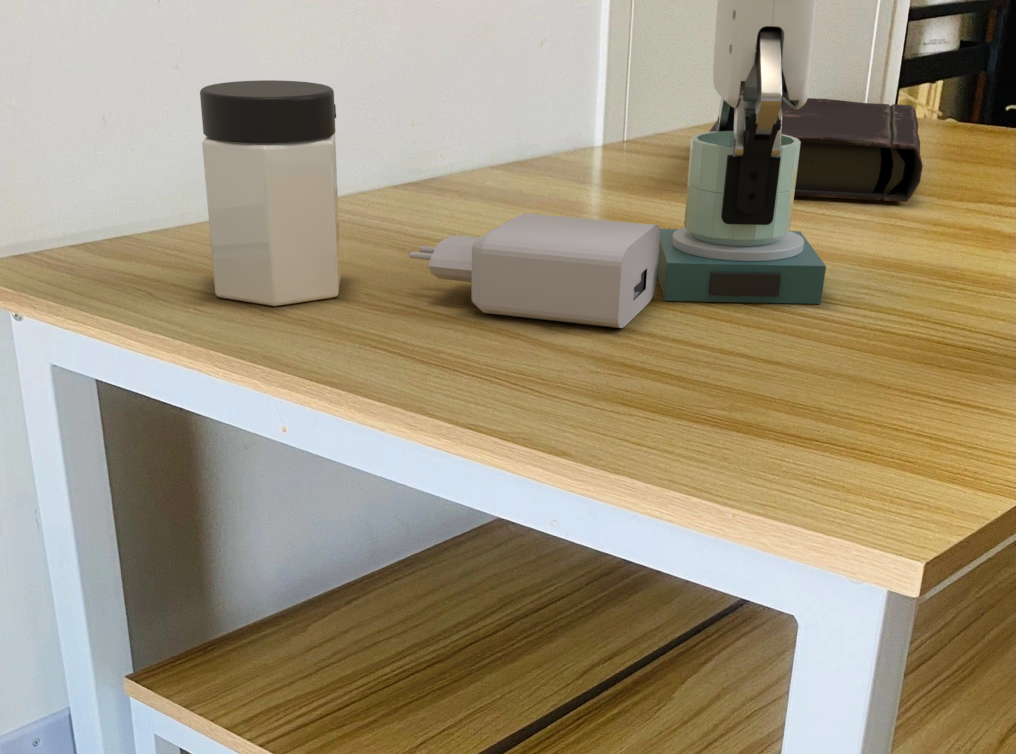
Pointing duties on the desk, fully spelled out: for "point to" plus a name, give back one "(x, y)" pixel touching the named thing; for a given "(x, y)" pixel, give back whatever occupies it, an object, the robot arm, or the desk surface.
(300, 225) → the jar
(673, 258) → the scale
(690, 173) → the cup
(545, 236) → the charger
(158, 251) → the desk surface
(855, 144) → the diary
